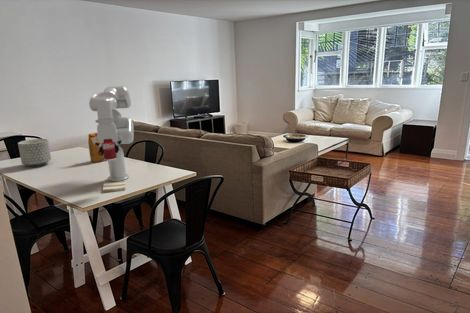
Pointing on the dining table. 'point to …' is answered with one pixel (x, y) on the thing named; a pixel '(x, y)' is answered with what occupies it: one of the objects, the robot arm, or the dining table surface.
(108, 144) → the soda can
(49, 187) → the dining table surface
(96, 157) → the coffee package
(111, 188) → the birch board
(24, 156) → the planter
